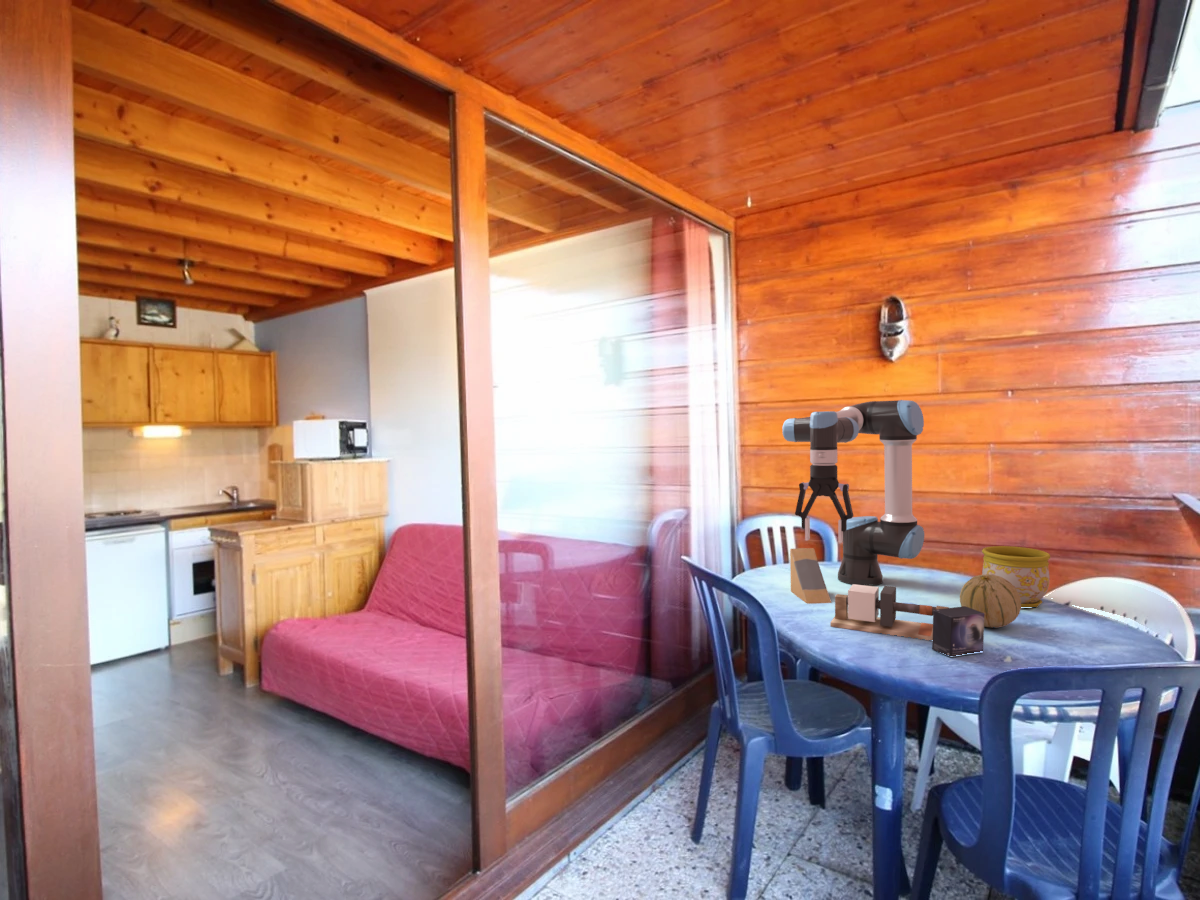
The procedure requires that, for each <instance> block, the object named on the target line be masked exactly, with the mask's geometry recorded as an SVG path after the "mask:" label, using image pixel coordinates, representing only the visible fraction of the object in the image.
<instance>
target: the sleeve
mask: <svg viewBox="0 0 1200 900" xmlns="http://www.w3.org/2000/svg"><path fill="white" fill-rule="evenodd" d="M879 591H880V588H879V586H875V585H856V584H851V586H850V588H849V589H848V591H847V595H848V619H855V620H863V621H870V622H875V620H876V619H877V617H879V616H880V609H876V600H880V593H879Z"/></svg>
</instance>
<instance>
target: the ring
mask: <svg viewBox="0 0 1200 900" xmlns="http://www.w3.org/2000/svg"><path fill="white" fill-rule="evenodd" d="M879 600H880V609H879V617H880V625H882V626H890V627H892V626H893V623H894V621H895V619H896V620H897V611H893V602H897V586H891V585H884V586H883V587H882V589H881V591H880V593H879Z"/></svg>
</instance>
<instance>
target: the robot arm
mask: <svg viewBox="0 0 1200 900" xmlns="http://www.w3.org/2000/svg"><path fill="white" fill-rule="evenodd" d="M924 423H925V421H924V414H923V411H922V409H921V407H920V405H919V404H918V403H917V402H916V401H914V400H907V399H906V400H905V399H899V400H880V401H878V400H873V401H866V402H861V403H858V404H857V403H856V404H853V405H850V406H844V407H843V408H842V409H840V410H839V411H835V410H834V411H833V410H832V411H831V410H829V411H813V412H811V413H810V416H806V417H805V416H804V417H799V418H797V417H794V418H788V419H786V420H784V422H783V425H782V429H781V430H782V436H783V439H784V440H785V441H787V442H790V443H791V442H794V443H799V442H800V443H809V444H810V445H809V446H810V450H809V459H810V460H809V461H810V463H811V464H810V466H809V468H810V469H809V472H810V473H809V481H807V482H803V481H802V482H800V483H799V485H798V486H799V492H798V493H799V494H798V496H797V497H798V498H797V502H796V506H795V507H796V508H795V513H794V515H796V516H798V517H800V519H801V528H802V530H803V529H804V541H809V540H811V531H810V529H811V518H810V517H808V515H809V513H810V511H811V510H812V507H813V505H814V503H815V502H816V499H817V497H822V496H823V497H829V498H830V500H831V502H832V504H833V506H834V508H835V509H836V512H837V514H838V515H839V519H838V521H837V522H838V524H837V526H838V527H837V530H838V535H837V536H838V537H837V539H838V540H837V541H838V544H842V560H841V563H840V565H839V569H838V572H837V580H839V582H842V583H843V584H844V583H845V584H849V585H853V584H856V585H865V586H877V585H881V584H883V582H884V581H883V580H884V578H883V573H882V569H881V567H880V563H879V561H878V555H879V556H885V557H894V558H899V559H908V560H911V559H915V558H917V557H918V556H919V554H920V552H921V551H922V549H923V546H924V542H925V530H924V528H923V526H921V525H919V524H918V518H917V517H915V516H914V514H913V444H914V443H915V442H916V441H917V440H918V438H917V437H918V436H919V435H921V434H922V432H923V430H924V426H925V424H924ZM859 434H863V435H864V434H865V435H879V441H880V443H882V444H883V448H884V450H883V451H884V454H883V455H884V456H883V457H884V461H883V462H884V514H883V515H881V517H880V519H878V516H874V515H872V516H871V515H865V516H863V515H862V516H854V511H853V506H852V503H851V499H850V494H849V490H850V485H849V484H848V483H840V482H839V480H838V465H837V463H838V443H839V444H840V443H845V444H847V443H848V442H853V441H854V440H855V439H857V437H858V436H859ZM808 487H809V488H810V489H811V491H812V493H811V495H810V498H809V499H808V501H807V503H806V505H805V507H804V509H803V505H804V502H805V496H806V492H807V489H808ZM838 488H839V490H840V491H841V492H842V497H843V502H844V507H845V510H846V511H845V510H844V508H843V506H842V505H841V502H840V500H839V498H838V496H837V493H836V490H837V489H838Z"/></svg>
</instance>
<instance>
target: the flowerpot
mask: <svg viewBox="0 0 1200 900" xmlns="http://www.w3.org/2000/svg"><path fill="white" fill-rule="evenodd" d="M981 553H982V554H983V557H982V559H983V563H982V572H981V575H985V574H991V575H996V576H1000V577H1002V578H1004V579H1006V580H1008V581H1009V582H1010V583H1011V584H1012V585H1013V586H1014V587H1015V588H1016V590H1017V592H1018V594H1019V596H1020V599H1021V607H1036V608H1038V607H1039V606H1040V605H1041V604H1043V600H1042V599H1043V597H1044V596H1045V595H1046V594H1047V592H1048V590H1049V588H1050V570H1049V565H1050V563H1049V560H1050V559H1051V554H1050V553H1048V552H1046V551H1045V550H1040V549H1036V548H1029V547H1023V546H1021V547H1020V546H1010V545H1009V546H1008V545H995V546H986V547H984V548H982V550H981Z"/></svg>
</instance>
